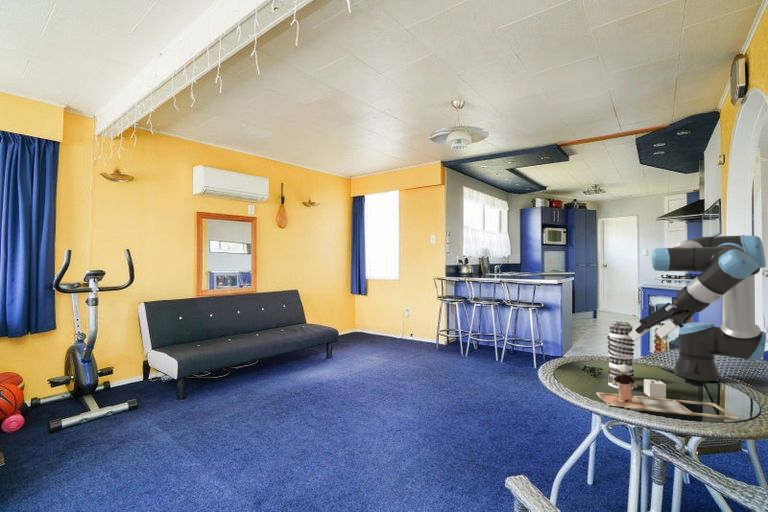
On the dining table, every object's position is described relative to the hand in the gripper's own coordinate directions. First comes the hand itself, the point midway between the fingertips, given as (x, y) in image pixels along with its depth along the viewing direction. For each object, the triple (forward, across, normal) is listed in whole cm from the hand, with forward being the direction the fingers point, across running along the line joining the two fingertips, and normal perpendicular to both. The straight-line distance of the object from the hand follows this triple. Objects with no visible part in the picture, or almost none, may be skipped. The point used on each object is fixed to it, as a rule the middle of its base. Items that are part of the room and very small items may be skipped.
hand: (645, 336), depth 122 cm
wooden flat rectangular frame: (+17, +8, -17) cm, 25 cm away
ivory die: (+22, +16, -12) cm, 30 cm away
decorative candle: (+30, +14, -4) cm, 34 cm away
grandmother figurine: (+22, -1, -12) cm, 25 cm away
